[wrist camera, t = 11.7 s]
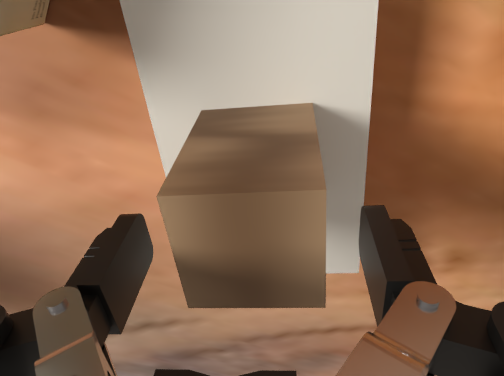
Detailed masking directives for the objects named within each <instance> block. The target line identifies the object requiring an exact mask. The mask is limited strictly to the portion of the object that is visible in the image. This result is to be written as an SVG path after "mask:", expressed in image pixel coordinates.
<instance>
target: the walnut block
mask: <svg viewBox="0 0 504 376" xmlns="http://www.w3.org/2000/svg"><path fill="white" fill-rule="evenodd" d="M326 191H327V190H326V183H325V177H324V171H323V165H322V159H321V153H320V146H319V140H318V134H317V128H316V122H315V115H314V109H313V103H300V104H286V105H271V106H256V107H241V108H227V109H212V110H201V112H200V114H199V116H198V118H197V120H196V122H195V124H194V126H193V127H192V129H191V131H190V133H189V135H188V137H187V139H186V141H185V143H184V145H183V147H182V149H181V150H180V152H179V154H178V156H177V158H176V160H175V162H174V164H173V166H172V168H171V170H170V172H169V173H168V175H167V177H166V179H165V181H164V183H163V185H162V187H161V189H160V191H159V193H158V195H157V200H158V203H159V207H160V210H161V214H162V217H163V221H164V224H165V228H166V231H167V235H168V238H169V242H170V245H171V249H172V252H173V256H174V259H175V263H176V266H177V270H178V273H179V277H180V280H181V284H182V287H183V291H184V294H185V298H186V301H187V305H188V308H325V303H326Z"/></svg>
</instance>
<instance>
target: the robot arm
mask: <svg viewBox="0 0 504 376" xmlns="http://www.w3.org/2000/svg"><path fill="white" fill-rule="evenodd" d="M89 248H90V249H88V250H87V252H86V254H85V255H84V258H82V260H81V261H80V263H79V264H78V266H77V267H76V269H75V271H74V272H73V274H72V275H71V277H70V278H69V280H68V281H67V283H66V284H65V286H64V287H61V288H57V289H55V290H53V291H51V292H49V293H47V294H46V295H44V296H43V297H42V298H41V299H40V300H39V301H38V302H37V303H36V305H35V306H34V308H32V309H29V310H25V311H21V312H17V313H14V314H10V315H9V314H8V313H7V311H6V310H5V309H4V307H2V306H0V376H117V374H116V371H115V368H114V365H113V363H112V360H111V357H110V354H109V352H108V349H107V346H106V344H105V340H106V338H107V336H108V334H121V333H122V331H123V329H124V326H125V324H126V321H127V319H128V317H129V314H130V312H131V310H132V307H133V305H134V302H135V300H136V298H137V295H138V293H139V290H140V288H141V286H142V283H143V281H144V279H145V276H146V274H147V271H148V269H149V267H150V264H151V262H152V258H153V245H152V242H151V238H150V235H149V232H148V229H147V226H146V222H145V219H144V217H143V215H142V214H121V215H119V217H118V218H117V220H116V221H115V223H114V225H113V226H112V228H107V229H105V230H104V231H103V232H102V233H101V234H99V235H98V236H97V237H96V238H95V240H94V241H93V243H92V244H91V246H90V247H89ZM359 254H360V259H361V263H362V267H363V271H364V275H365V279H366V283H367V287H368V291H369V295H370V299H371V303H372V307H373V311H374V315H375V319H376V323H377V328H376V330H375V331H374V332H373V333H371V332H367V333H366V334H365V335H364V336H363V337H362V338H361V340H360V341H359V343H358V344H357V346H356V347H355V348H354V350H353V351H352V353H351V354H350V356H349V357H348V359H347V360H346V362H345V363H344V364H343V366H342V367H341V369H340V370H339V372H338V373H337V375H336V376H436V375H437V376H504V302H500V303H498V304H496V305H495V306H494V307H493V309H492V311H489V310H484V309H480V308H476V307H472V306H468V305H464V304H462V303H459V302H457V301H455V300H454V298H453V297H452V295H451V294H450V293H449V292H448V291H447V290H446V289H444V288H443V287H441V286H439V285H437V283H436V281H435V279H434V277H433V274H432V272H431V270H430V268H429V266H428V263H427V261H426V259H425V257H424V255H423V253H422V251H421V248H420V246H419V244H418V242H417V241H416V237H415V235H414V233H413V231H412V229H411V228H410V227H409V226H408V225H407V224H406V223H405V222H404V221H402V220H401V219H390V218H389V215H388V213H387V210H386V208H385V206H384V205H375V206H362V207H361V215H360V228H359ZM154 376H209V375H206V374H202V373H199V372H195V371H192V370H165V369H156V370H155V373H154ZM240 376H297V375H296V371H257V372H252V373H248V374H244V375H240Z"/></svg>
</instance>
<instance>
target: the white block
mask: <svg viewBox="0 0 504 376" xmlns="http://www.w3.org/2000/svg"><path fill="white" fill-rule="evenodd" d="M378 1H379V0H120V4H121V8H122V12H123V16H124V19H125V23H126V27H127V31H128V35H129V38H130V42H131V46H132V50H133V54H134V57H135V61H136V65H137V69H138V73H139V77H140V80H141V84H142V88H143V92H144V96H145V99H146V103H147V107H148V111H149V115H150V118H151V122H152V126H153V130H154V134H155V137H156V141H157V145H158V149H159V153H160V157H161V160H162V164H163V168H164V172H165V176H166V177H167V175H168V173H169V172H170V170H171V168H172V166H173V164H174V162H175V160H176V158H177V156H178V154H179V152H180V150H181V149H182V147H183V145H184V143H185V141H186V139H187V137H188V135H189V133H190V131H191V129H192V127H193V126H194V124H195V122H196V120H197V118H198V116H199V114H200V112H201V110H212V109H227V108H241V107H256V106H271V105H286V104H300V103H313V109H314V115H315V122H316V128H317V134H318V140H319V146H320V153H321V159H322V165H323V171H324V177H325V183H326V190H327V191H326V273H359V262H360V254H359V228H360V215H361V207H362V206H364V193H365V180H366V166H367V152H368V139H369V125H370V111H371V97H372V84H373V70H374V56H375V43H376V29H377V15H378Z"/></svg>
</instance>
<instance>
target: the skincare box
mask: <svg viewBox="0 0 504 376" xmlns="http://www.w3.org/2000/svg"><path fill="white" fill-rule="evenodd" d="M49 1H50V0H0V36H2V35H5V34H9V33H13V32H17V31H20V30H24V29H28V28H31V27H35V26H39V25H43V24H44V23H45V19H46V15H47V10H48V6H49Z"/></svg>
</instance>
